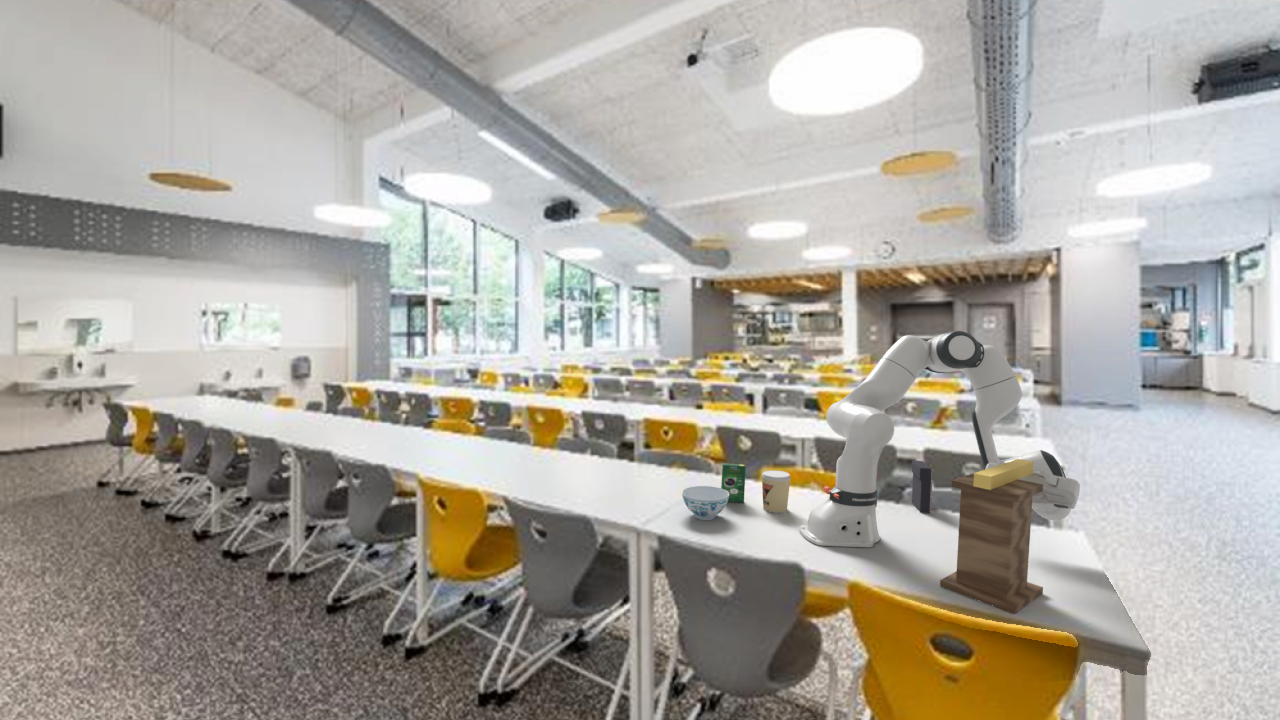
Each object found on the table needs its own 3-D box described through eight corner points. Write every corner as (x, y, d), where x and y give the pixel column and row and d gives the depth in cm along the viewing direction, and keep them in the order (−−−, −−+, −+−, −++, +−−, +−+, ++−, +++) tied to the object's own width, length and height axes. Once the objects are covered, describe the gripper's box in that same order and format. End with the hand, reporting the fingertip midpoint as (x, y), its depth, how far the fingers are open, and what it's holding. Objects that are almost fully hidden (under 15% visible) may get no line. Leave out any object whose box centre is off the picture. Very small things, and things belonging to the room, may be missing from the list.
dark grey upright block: (932, 513, 192) (934, 468, 191) (918, 512, 193) (920, 468, 192) (922, 503, 203) (925, 460, 202) (909, 502, 204) (911, 460, 203)
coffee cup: (757, 504, 199) (758, 470, 198) (784, 504, 200) (785, 469, 199) (765, 513, 190) (766, 477, 189) (793, 513, 191) (794, 477, 190)
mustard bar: (989, 489, 130) (990, 476, 130) (973, 486, 133) (974, 473, 133) (1032, 473, 144) (1033, 461, 144) (1017, 470, 147) (1017, 458, 147)
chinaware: (702, 505, 198) (703, 483, 197) (738, 517, 187) (738, 493, 186) (671, 515, 187) (672, 492, 187) (707, 528, 177) (708, 503, 176)
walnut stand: (1014, 614, 127) (1021, 497, 125) (940, 586, 140) (945, 479, 138) (1042, 593, 137) (1049, 484, 135) (970, 569, 149) (976, 469, 147)
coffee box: (744, 500, 204) (745, 463, 203) (744, 503, 201) (745, 465, 200) (720, 499, 204) (721, 462, 203) (721, 502, 201) (722, 464, 200)
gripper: (998, 469, 161) (980, 449, 153) (1087, 487, 145) (1072, 466, 137) (991, 490, 160) (973, 471, 152) (1081, 511, 143) (1065, 491, 136)
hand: (1021, 469), depth 144 cm, fingers open, 8 cm apart
